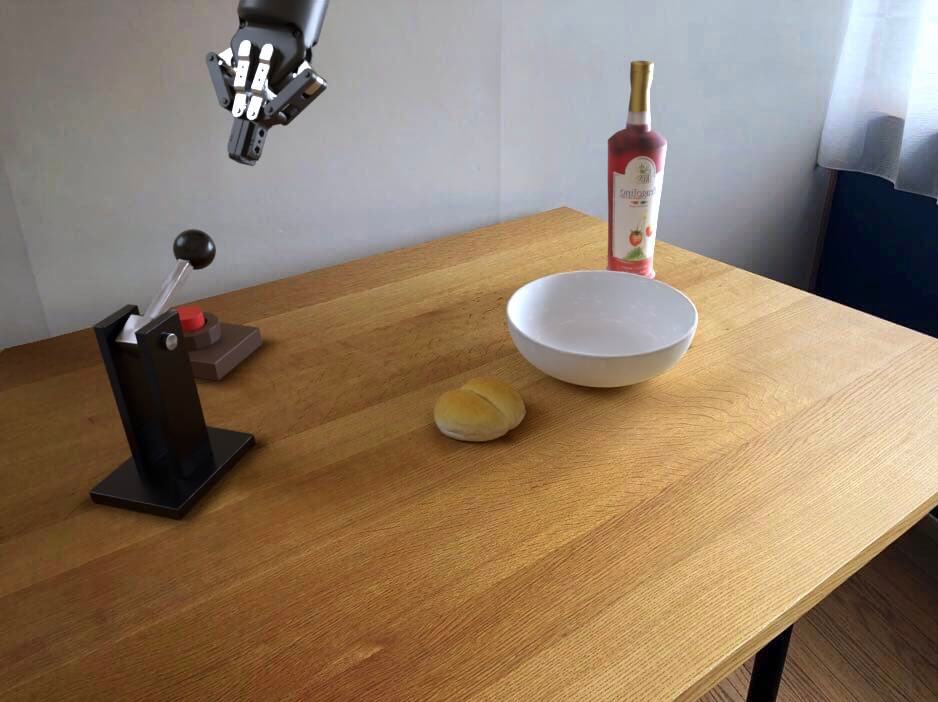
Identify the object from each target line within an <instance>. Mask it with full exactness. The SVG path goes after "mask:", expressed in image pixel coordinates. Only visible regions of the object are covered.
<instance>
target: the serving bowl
mask: <svg viewBox="0 0 938 702" xmlns="http://www.w3.org/2000/svg"><path fill="white" fill-rule="evenodd" d="M505 315H506V322H507V327H508V331H509V334H510V337H511V340H512V341H513V344H514V345H515V347H516V349H517V350H518V351H519V353H520V354H521V356H522V357H523V358H524V359H525V360H526V361H527V362H529V363H530V364H531V365H532V366H534V368H536V369H537V370H539V371H540V372H543V373H544V374H546V375H548V376H550V377H552V378H555V379H556V380H560V381H563V382H566V383H569V384H573V385H578V386H583V387H593V388H618V387H625V386H631V385H636V384H640V383H644V382H647V381H650V380H651V379H654V378H657V377H658V376H660V375H662V374H664V373H666V372H667V371H668V370H670V369H671V368H673V366H675V365H677V363H678V362H679V361H680V360H681V359H682V358H683V357H684V355H685V354H686V352H688V349H689V348H690V346H691V344H692V342H693V339H694V336H695V333H696V331H697V326H698V322H699V314H698V311H697V308H696V307H695V305H694V303H693V302H692V301H691V299H690V298H689V297H688V296H686V295H685V294H684V293H682V291H680V290H678V289H677V288H676V287H673V286H672V285H669V284H668V283H665V282H663V281H660V280H657V279H655V278H653V279H652V278H648V277H645V276H641V275H636V274H631V273H625V272H617V271H604V270H603V269H602V270H601V269H600V270H597V269H594V270H593V269H590V270H589V269H588V270H587V269H585V270H573V271H566V272H560V273H554V274H550V275H545V276H542V277H540V278H536V279H535V280H532V281H530V282H527V283H526V284H524V285H522V286H521V287H519V288H518V289H517V290H516V291H514V292H513V294H512V295H511V296H510V298H509V299H508V300H507V303H506V308H505Z"/></svg>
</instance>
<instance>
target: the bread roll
mask: <svg viewBox="0 0 938 702" xmlns="http://www.w3.org/2000/svg"><path fill="white" fill-rule="evenodd" d="M526 412H527V410H526V406H525V404H524V400H523V398H522V397H521V395H520V393H519V392H518V390H516V388H514V386H512V385H511V384H510V383H508V382H507V381H505V380H504V379H502V378H499V377H496V376H495V377H494V376H478V377H474V378H472V379H470V380H469V381H467V382H466V383H465V384H464V385H462V387H461V388H459V389H452V390H451V389H450V390H448V391H446V392H444V393H442V395H440V397H438V398H437V400H436V402H435V404H434V406H433V419H434V421H435V424H436V426H437V428H438V429H439V430H440V433H442V434H443V435H445V436H446V437H449V438H451V439H454V440H458V441H466V442H487V441H488V442H489V441H493V440H495V439H498V438H500V437H502V436H504V435H506V434H507V433H508V432H509V431H511V430H514V429H516V428H517V427H518V426H519V425H520V424H521V423H522V421H523V420H524V418H525V415H526Z"/></svg>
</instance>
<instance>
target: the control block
mask: <svg viewBox="0 0 938 702" xmlns="http://www.w3.org/2000/svg"><path fill="white" fill-rule="evenodd" d="M202 312H203V316H204V321H205V326H203V327H202V328H201V329H198V330H195V331H191V332H183V333H184V337H185V341H186V345H187V349H188V353H189V357H190V361H191V366H192V370H193V374H194V378H197V379H204V380H208V381H209V380H210V381H215V382H218V381H220V380H222V378H224V377H225V376H226V375H228V373H230V372H231V371H232V370H233V369H234V368H235V367H237V366H238V365H239V364H240V363H241V362H242V361H244V360H245V359H246V358H247V357H249V356H250V355H251V354H252V353H253V352H254V351H256V350H257V349H258V348H259V347H260V346H262V345H263V340H262V335H261V331H260V330H261V329H260V327H257V326H252V325H245V324H244V325H243V324H237V323H230V322H222V321H220V318H219V317H218V316H217V315H216V314H214V313H213V312H209V311H204V310H202Z"/></svg>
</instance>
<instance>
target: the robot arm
mask: <svg viewBox="0 0 938 702" xmlns="http://www.w3.org/2000/svg"><path fill="white" fill-rule="evenodd" d="M330 1H331V0H238V5H237V8H236V13H237V16H238V23H239V26H238V29H237V30H236V32H235V34H234V35H233V36H232V37H231V39H230V43H229V48H227V49H225V50H224V51H222V52H221V53H219V54H217V53H216V52H214V51H210V52H208V53H206V55H205V63H206V65H207V69H208V72H209V76H210V78H211V82H212V85H213V89H214V91H215V94H216V97H217V101H218V104H219V107H221V108H222V109H225V110H227V111H228V112H229V113H231V115H232V116H233V119H234V120H233V124H232V126H231V127H232V128H231V131H230V135H229V139H228V142H227V149H226V150H227V152H228V158H229V159H230V160H232V161H234V162H236V163H238V164H240V165H241V164H242V165H246V166H250V167H254V166H255V165H256V164H257V162H258V161H259V159H260V158H261V157H262V154H263V150H264V146H265V143H266V139H267V135H268V132H269V131H270V130H271V129H272V128H273V127H274V126H278V125H281V126H283V127H286V126H288V125H289V124H291V123H292V122H293V121H294V120H295V119H296V118H297V117H298V116H300V114H301V113H302V112H303V111H305V109H307V107H309V106H310V105H311V104H312V103H313V102H314V101H315V100H316V99H317V98H318V97H319V96H320V95H321V94H322V93H324V92H325V91H326V90H327V88H328V81H327V80H326V79H325V78H324V77H322V76H321V75H319V74H318V72H317V71H316V69H315V68H314V67H313V65H312V64H313V61H314V53H313V48H314V47H316V46H317V45H318V43H319V40H320V37H321V34H322V29H323V26H324V22H325V20H326V19H325V18H326V15H327V11H328V7H329V4H330Z"/></svg>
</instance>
